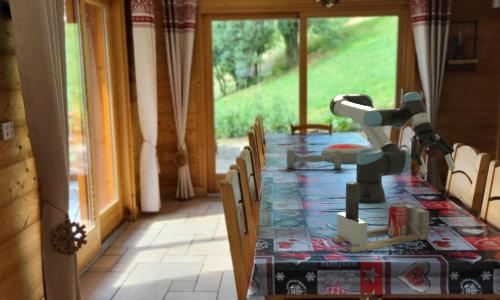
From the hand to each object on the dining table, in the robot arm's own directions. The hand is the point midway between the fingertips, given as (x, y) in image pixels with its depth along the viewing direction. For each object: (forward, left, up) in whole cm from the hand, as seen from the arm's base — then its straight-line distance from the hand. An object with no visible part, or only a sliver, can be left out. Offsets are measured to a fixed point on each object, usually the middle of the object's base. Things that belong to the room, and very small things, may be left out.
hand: (439, 170), depth 191 cm
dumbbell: (-105, +4, -19) cm, 107 cm away
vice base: (+14, -41, -18) cm, 47 cm away
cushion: (-123, +42, -19) cm, 132 cm away
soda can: (+14, -33, -19) cm, 40 cm away
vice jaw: (+14, -53, -17) cm, 57 cm away
